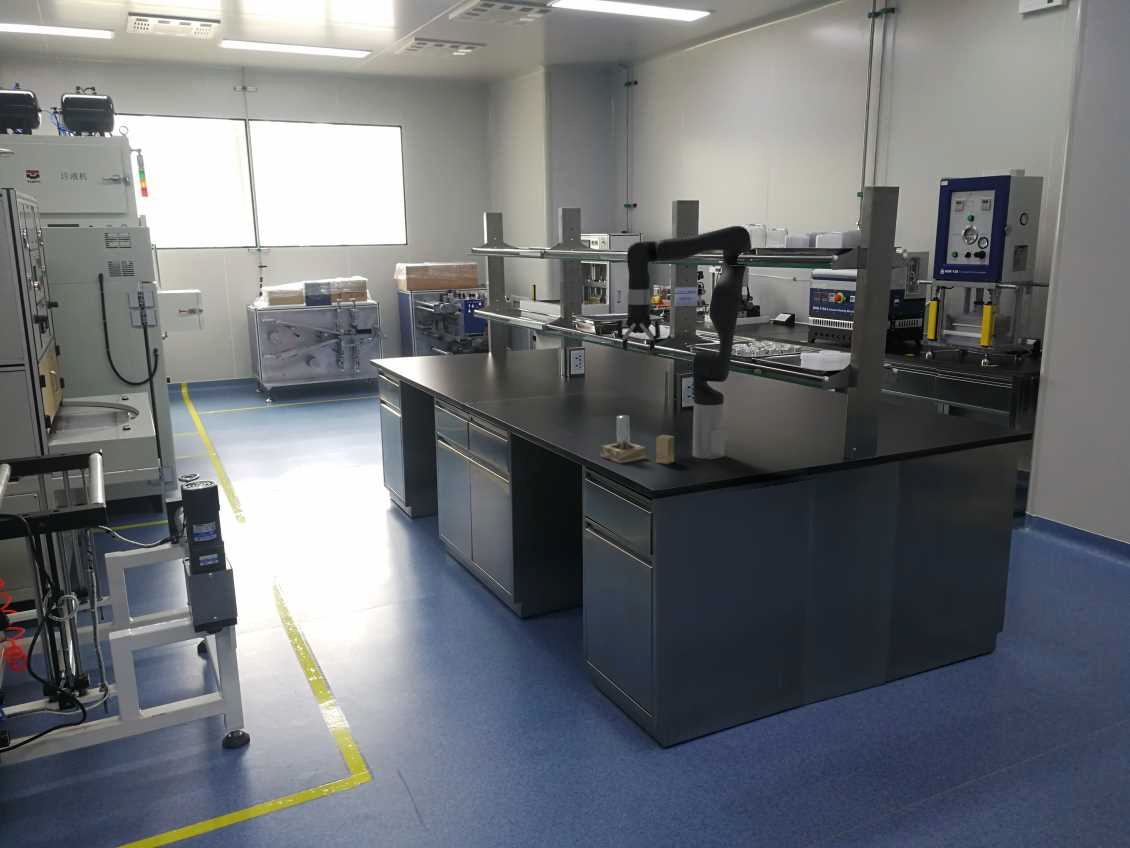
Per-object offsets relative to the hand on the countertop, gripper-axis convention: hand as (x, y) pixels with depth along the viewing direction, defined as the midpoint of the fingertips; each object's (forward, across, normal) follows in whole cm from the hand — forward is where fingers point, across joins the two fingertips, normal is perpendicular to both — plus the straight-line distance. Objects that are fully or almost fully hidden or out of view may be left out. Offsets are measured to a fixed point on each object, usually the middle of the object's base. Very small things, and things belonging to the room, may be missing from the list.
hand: (638, 350), depth 288 cm
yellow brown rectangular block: (+30, -14, +30) cm, 45 cm away
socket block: (+30, 0, +28) cm, 41 cm away
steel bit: (+29, 0, +28) cm, 40 cm away
